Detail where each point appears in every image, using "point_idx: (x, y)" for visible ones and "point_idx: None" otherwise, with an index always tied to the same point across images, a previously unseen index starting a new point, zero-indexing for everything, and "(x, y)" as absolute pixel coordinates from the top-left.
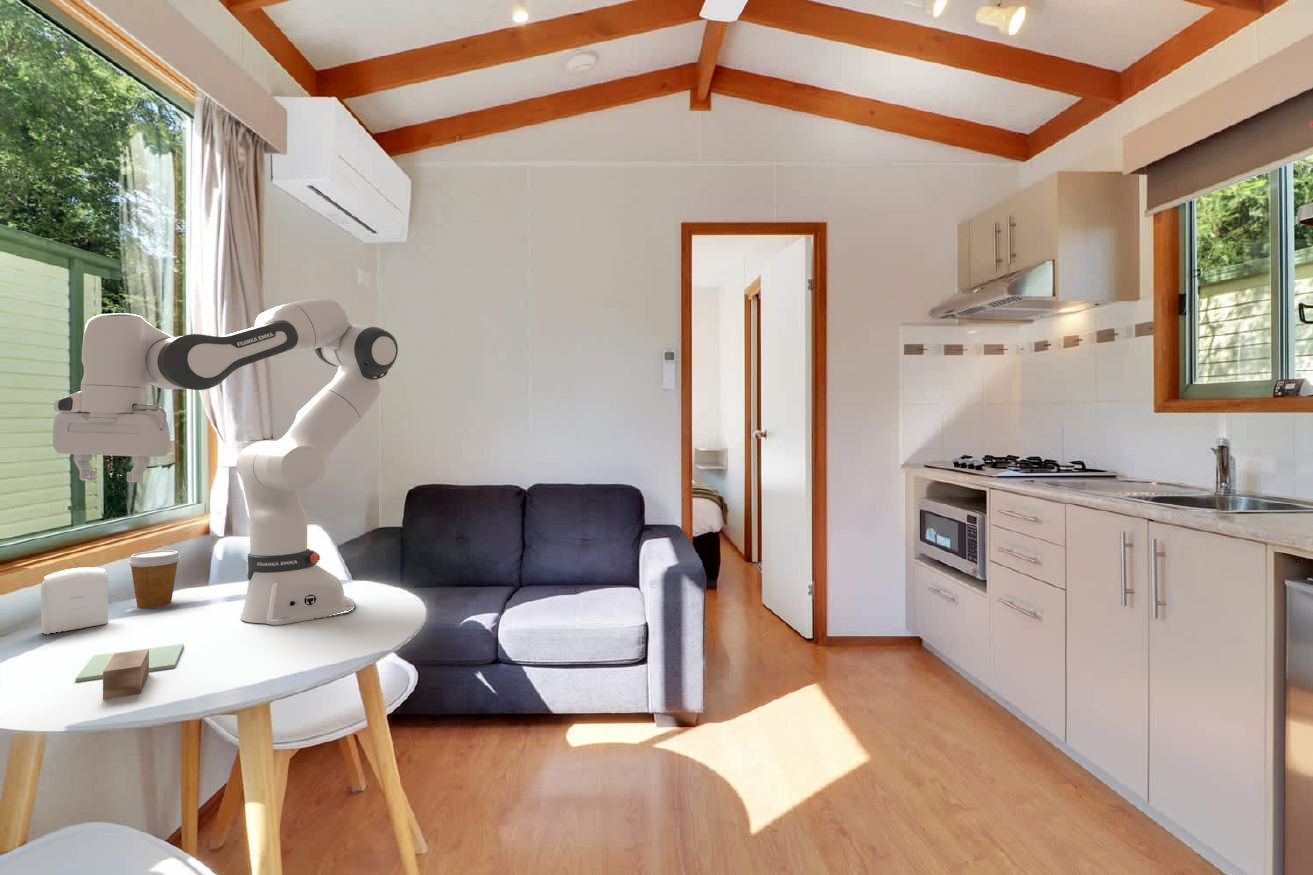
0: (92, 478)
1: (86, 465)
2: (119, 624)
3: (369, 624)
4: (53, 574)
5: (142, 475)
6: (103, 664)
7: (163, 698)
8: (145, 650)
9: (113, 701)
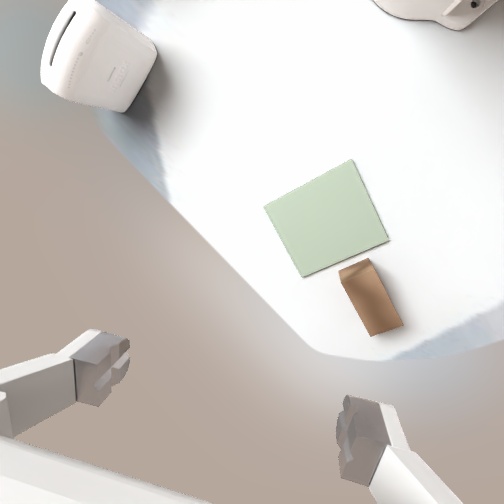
0: (123, 353)
1: (39, 393)
2: (176, 49)
3: None
4: (53, 80)
5: (402, 434)
6: (299, 237)
7: (428, 323)
8: (373, 274)
9: None
